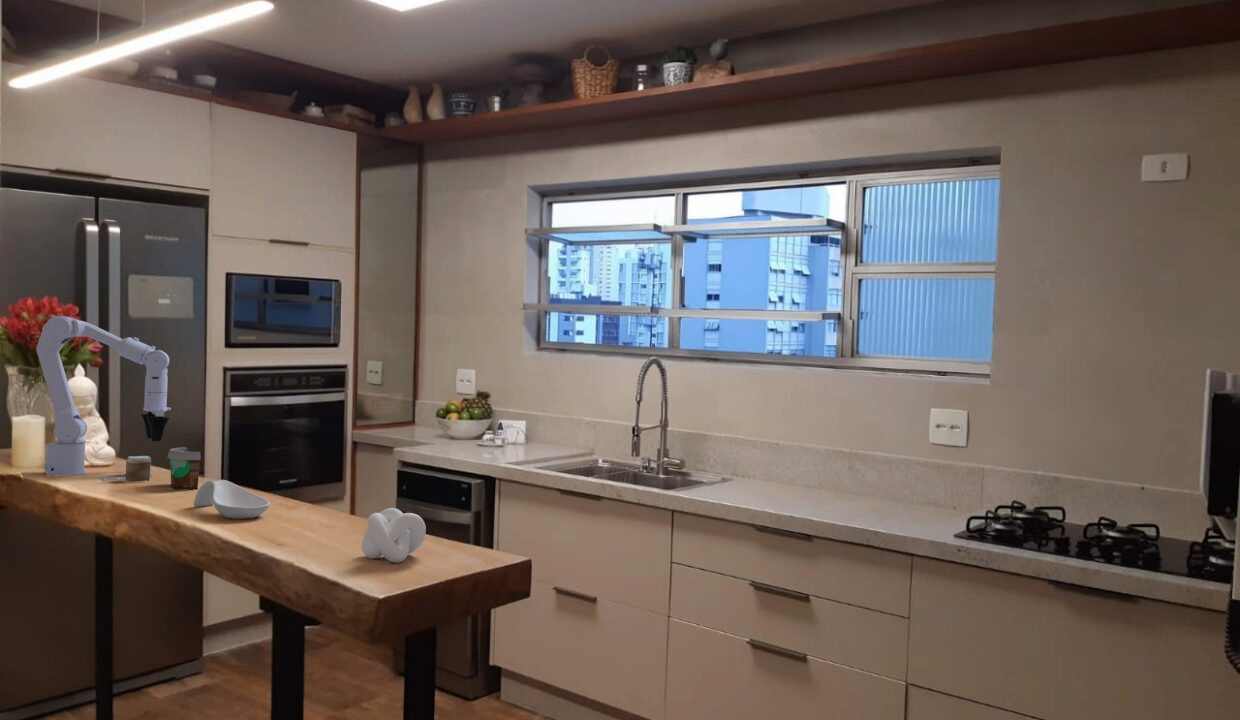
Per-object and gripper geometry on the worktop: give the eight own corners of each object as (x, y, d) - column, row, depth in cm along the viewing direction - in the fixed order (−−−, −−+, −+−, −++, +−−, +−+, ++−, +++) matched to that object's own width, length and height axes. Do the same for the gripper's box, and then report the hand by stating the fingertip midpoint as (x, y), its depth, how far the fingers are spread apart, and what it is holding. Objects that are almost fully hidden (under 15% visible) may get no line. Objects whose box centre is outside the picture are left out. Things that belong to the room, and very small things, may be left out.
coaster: (124, 484, 239) (124, 482, 239) (120, 480, 245) (120, 478, 245) (154, 483, 243) (154, 481, 243) (149, 479, 249) (149, 477, 249)
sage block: (130, 476, 251) (130, 458, 251) (127, 474, 255) (128, 456, 255) (150, 475, 254) (150, 458, 254) (147, 473, 258) (147, 456, 258)
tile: (102, 481, 242) (102, 480, 242) (99, 478, 247) (99, 477, 247) (127, 480, 245) (127, 479, 245) (123, 477, 250) (123, 476, 250)
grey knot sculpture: (342, 558, 170) (344, 510, 170) (392, 548, 180) (394, 503, 180) (383, 568, 163) (385, 519, 163) (432, 557, 173) (434, 511, 173)
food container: (160, 485, 241) (161, 447, 241) (184, 483, 245) (186, 447, 245) (174, 491, 232) (175, 453, 232) (199, 490, 236) (200, 452, 236)
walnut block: (128, 481, 241) (129, 462, 241) (125, 479, 245) (126, 460, 245) (149, 480, 244) (150, 462, 244) (146, 478, 248) (146, 459, 248)
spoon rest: (279, 518, 205) (281, 487, 205) (230, 525, 196) (231, 492, 196) (225, 504, 219) (226, 475, 219) (176, 509, 210) (178, 478, 210)
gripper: (176, 394, 255) (174, 442, 256) (166, 391, 267) (164, 436, 267) (148, 393, 251) (146, 442, 251) (139, 390, 263) (137, 437, 263)
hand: (154, 439), depth 259 cm, fingers open, 7 cm apart
